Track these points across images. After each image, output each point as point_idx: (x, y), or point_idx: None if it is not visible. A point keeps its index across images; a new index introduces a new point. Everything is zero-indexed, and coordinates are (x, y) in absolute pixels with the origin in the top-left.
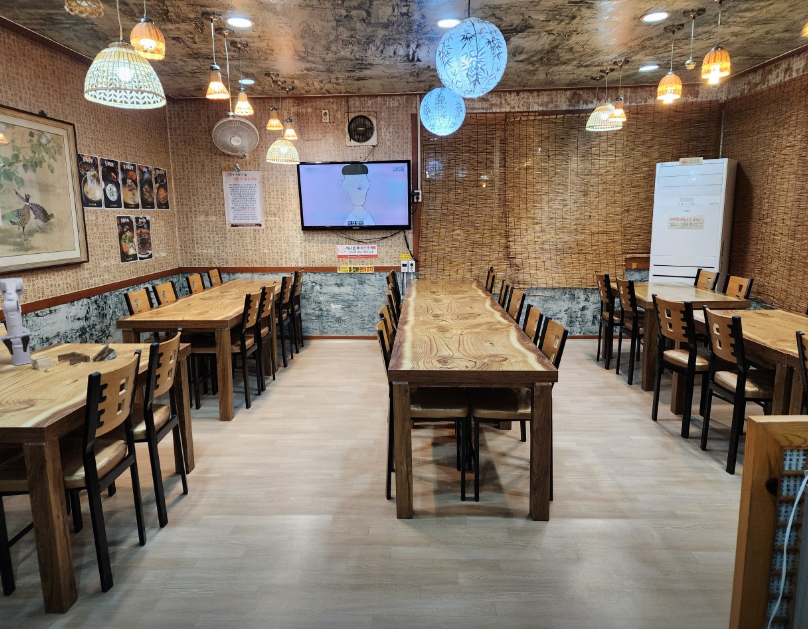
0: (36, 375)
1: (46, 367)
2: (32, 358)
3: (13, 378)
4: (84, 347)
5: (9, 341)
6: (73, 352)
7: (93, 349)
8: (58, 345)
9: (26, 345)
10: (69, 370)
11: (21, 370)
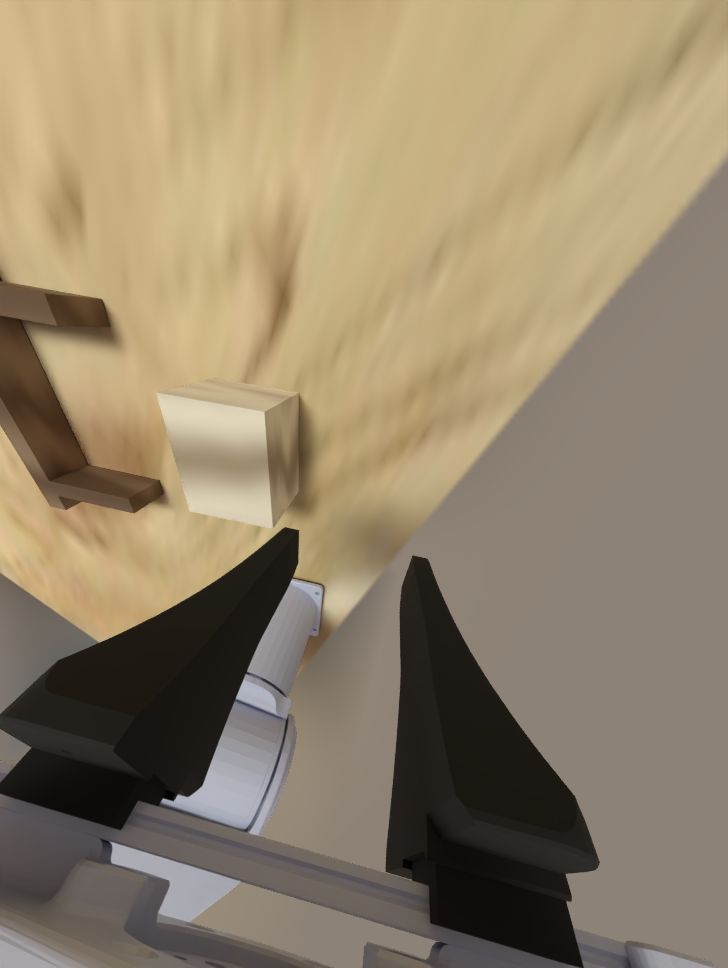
0: (391, 209)
1: (247, 386)
2: (265, 521)
3: (522, 331)
4: (58, 583)
5: (526, 840)
6: (50, 489)
7: (15, 529)
8: None
9: (232, 583)
10: (116, 17)
11: (356, 497)
